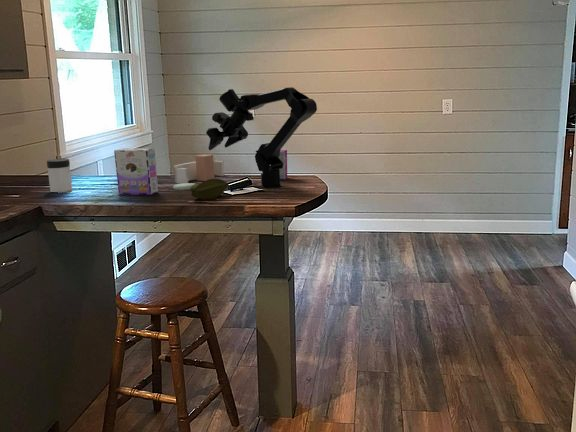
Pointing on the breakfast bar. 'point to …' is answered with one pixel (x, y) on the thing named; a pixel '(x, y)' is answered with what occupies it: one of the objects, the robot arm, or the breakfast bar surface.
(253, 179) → the breakfast bar surface
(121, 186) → the candy box
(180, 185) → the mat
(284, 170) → the supplement box
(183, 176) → the bay
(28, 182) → the breakfast bar surface
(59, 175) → the jar
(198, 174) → the block
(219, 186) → the fruit
